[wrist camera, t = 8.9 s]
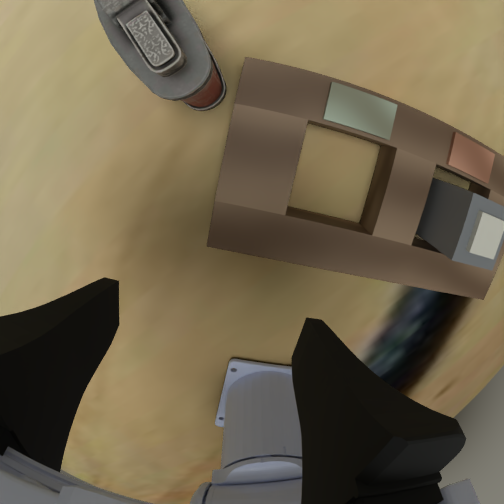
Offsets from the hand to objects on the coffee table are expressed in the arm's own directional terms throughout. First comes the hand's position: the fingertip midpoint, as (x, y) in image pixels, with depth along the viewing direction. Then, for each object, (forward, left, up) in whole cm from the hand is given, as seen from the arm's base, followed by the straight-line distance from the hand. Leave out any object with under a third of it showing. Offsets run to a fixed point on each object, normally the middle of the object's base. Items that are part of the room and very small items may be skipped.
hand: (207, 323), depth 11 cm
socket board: (+6, -10, -10) cm, 15 cm away
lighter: (+11, +5, -10) cm, 16 cm away
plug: (+5, -14, -10) cm, 18 cm away
